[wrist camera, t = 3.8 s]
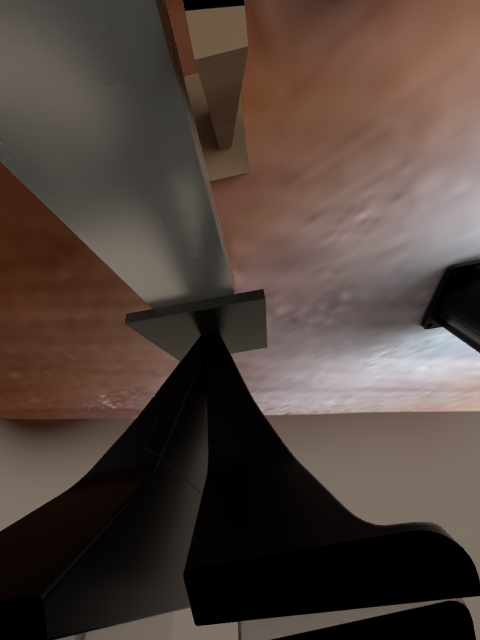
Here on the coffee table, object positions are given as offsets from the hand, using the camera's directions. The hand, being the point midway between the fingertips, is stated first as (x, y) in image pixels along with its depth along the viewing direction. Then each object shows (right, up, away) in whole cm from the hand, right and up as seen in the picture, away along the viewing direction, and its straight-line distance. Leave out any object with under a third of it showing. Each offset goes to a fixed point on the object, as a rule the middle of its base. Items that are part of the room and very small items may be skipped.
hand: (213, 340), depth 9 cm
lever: (-2, +9, -5) cm, 10 cm away
